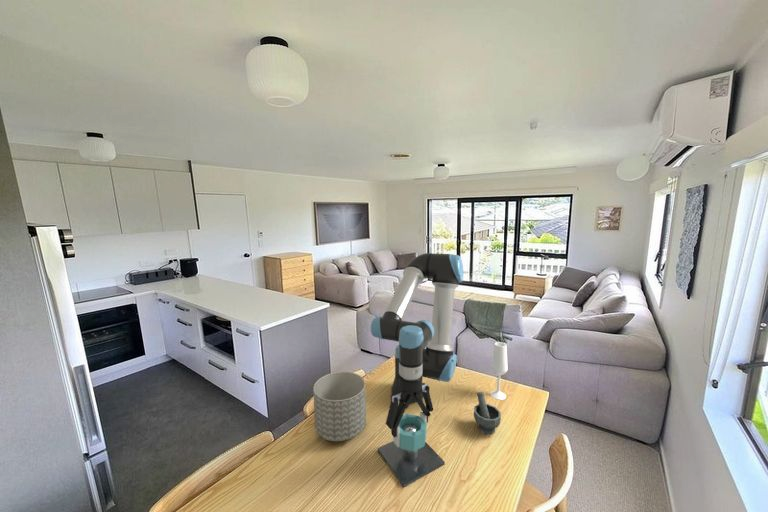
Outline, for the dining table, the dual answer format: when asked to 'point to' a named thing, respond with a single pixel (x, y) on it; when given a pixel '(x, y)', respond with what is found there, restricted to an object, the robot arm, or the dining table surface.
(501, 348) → the champagne flute
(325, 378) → the planter
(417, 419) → the ring
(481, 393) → the mortar and pestle
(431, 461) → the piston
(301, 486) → the dining table surface
